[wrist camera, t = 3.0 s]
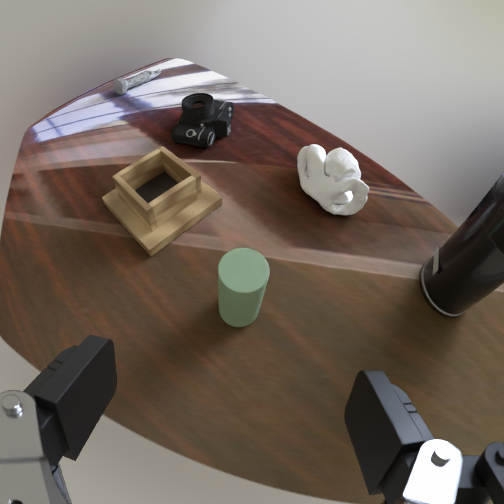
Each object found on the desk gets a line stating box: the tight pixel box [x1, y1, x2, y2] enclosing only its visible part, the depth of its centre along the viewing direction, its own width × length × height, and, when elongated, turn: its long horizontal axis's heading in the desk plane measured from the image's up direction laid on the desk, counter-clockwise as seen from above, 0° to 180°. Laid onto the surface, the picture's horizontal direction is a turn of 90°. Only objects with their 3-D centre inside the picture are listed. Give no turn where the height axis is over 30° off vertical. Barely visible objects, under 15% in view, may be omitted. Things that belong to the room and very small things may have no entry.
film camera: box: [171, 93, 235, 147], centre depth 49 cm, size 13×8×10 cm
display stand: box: [102, 146, 222, 257], centre depth 39 cm, size 12×12×6 cm
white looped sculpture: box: [297, 144, 369, 215], centre depth 43 cm, size 9×12×8 cm
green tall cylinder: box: [218, 248, 269, 327], centre depth 31 cm, size 4×4×9 cm
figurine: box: [114, 69, 161, 95], centre depth 59 cm, size 4×12×4 cm, turn 142°
